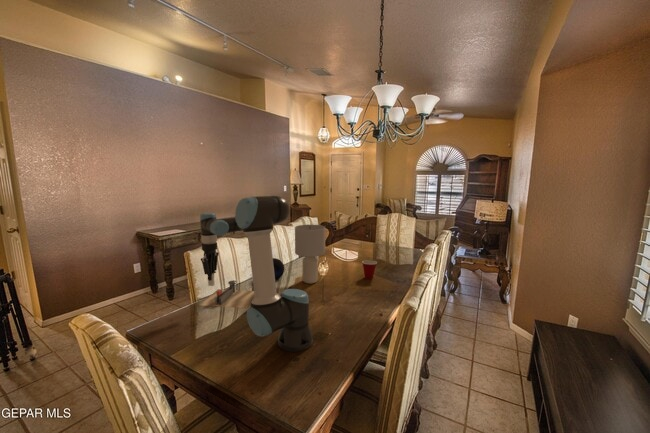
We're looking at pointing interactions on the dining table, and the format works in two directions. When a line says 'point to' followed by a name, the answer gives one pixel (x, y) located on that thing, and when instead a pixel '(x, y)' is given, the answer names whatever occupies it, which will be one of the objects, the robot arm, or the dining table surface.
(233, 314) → the dining table surface
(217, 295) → the tab
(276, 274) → the decorative sphere
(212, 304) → the board
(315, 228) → the lamp
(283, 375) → the dining table surface
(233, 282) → the grey lever with knob
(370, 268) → the plastic cup
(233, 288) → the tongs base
